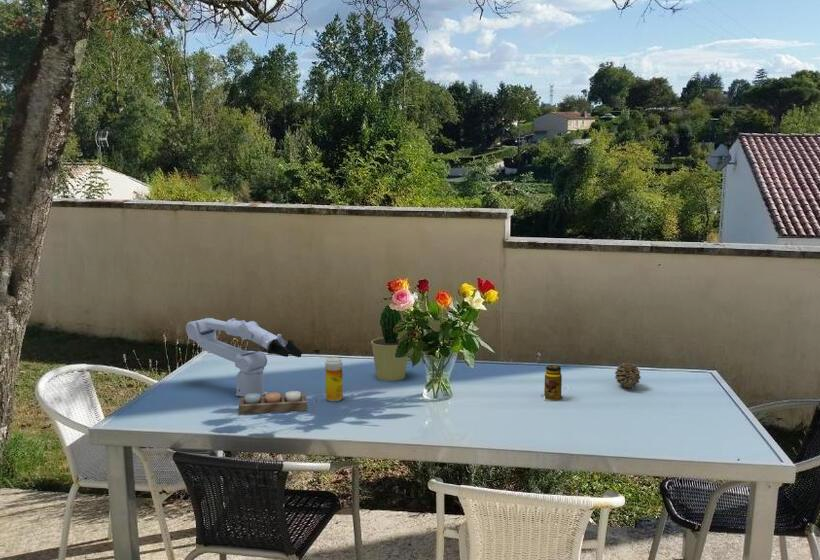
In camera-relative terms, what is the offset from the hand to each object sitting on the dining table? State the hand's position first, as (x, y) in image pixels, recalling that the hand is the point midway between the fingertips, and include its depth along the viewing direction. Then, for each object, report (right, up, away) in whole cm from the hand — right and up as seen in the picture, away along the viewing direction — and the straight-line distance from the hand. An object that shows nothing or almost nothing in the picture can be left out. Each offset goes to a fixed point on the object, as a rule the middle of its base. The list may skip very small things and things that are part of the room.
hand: (294, 354), depth 269 cm
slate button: (-14, -17, -4) cm, 22 cm away
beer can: (+13, -17, +7) cm, 23 cm away
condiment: (+93, -17, +9) cm, 95 cm away
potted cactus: (+33, -13, +36) cm, 51 cm away
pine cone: (+124, -14, +25) cm, 127 cm away
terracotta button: (-7, -16, -3) cm, 18 cm away
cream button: (0, -16, -2) cm, 16 cm away
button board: (-7, -19, -3) cm, 20 cm away
